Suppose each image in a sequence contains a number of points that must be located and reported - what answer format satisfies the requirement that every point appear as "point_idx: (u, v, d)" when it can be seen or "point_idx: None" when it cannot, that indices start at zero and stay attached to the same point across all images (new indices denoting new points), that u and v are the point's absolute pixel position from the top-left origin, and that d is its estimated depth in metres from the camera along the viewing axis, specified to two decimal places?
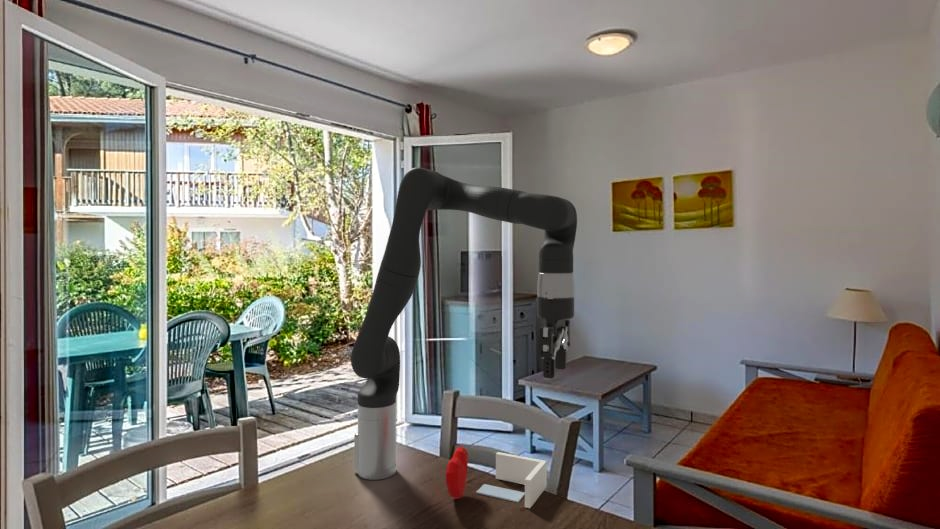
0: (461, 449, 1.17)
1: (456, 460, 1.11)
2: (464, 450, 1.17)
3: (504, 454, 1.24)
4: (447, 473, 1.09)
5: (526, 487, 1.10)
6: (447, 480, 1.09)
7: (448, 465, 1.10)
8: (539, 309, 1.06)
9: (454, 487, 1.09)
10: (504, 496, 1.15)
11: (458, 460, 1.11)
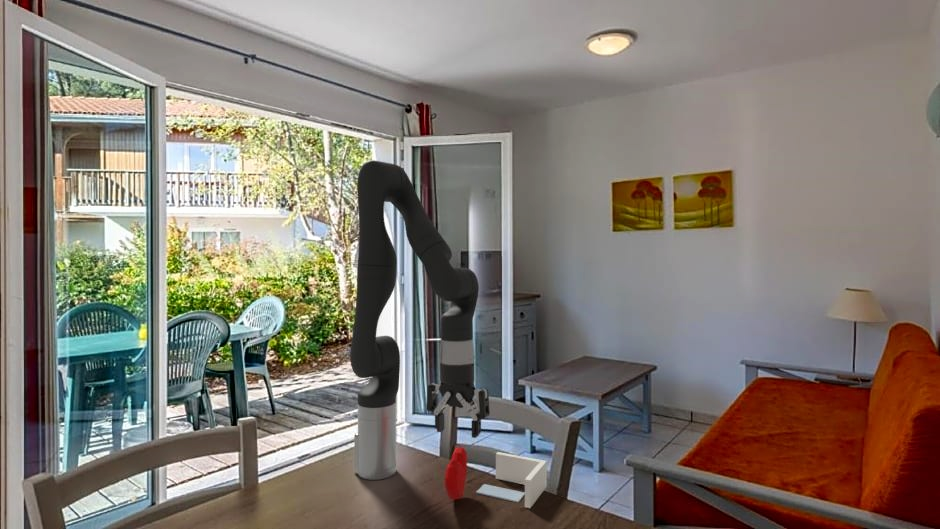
0: (460, 450, 1.16)
1: (455, 464, 1.10)
2: (463, 451, 1.16)
3: (504, 454, 1.24)
4: (446, 478, 1.08)
5: (526, 487, 1.10)
6: (446, 485, 1.08)
7: (447, 470, 1.09)
8: (462, 376, 1.10)
9: (454, 492, 1.08)
10: (504, 496, 1.15)
11: (457, 464, 1.10)
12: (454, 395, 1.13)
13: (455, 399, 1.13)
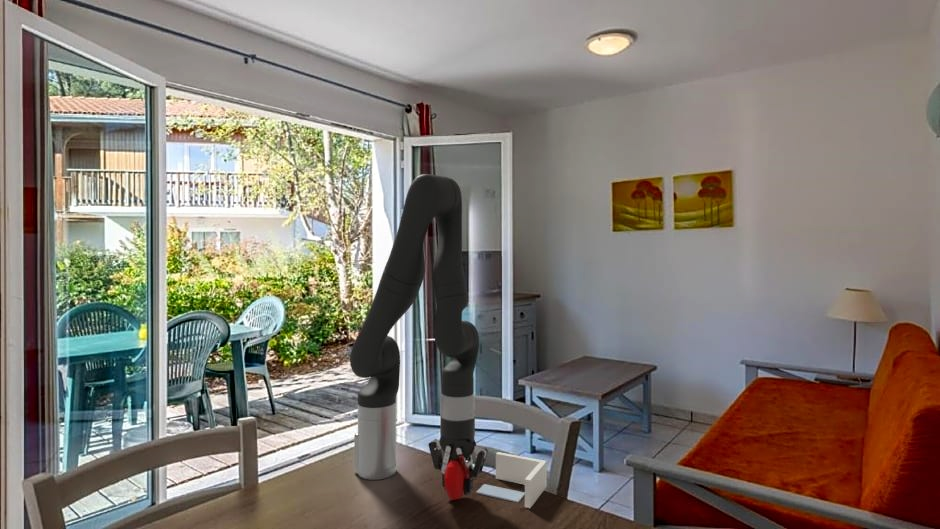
0: None
1: (454, 464, 1.10)
2: None
3: (504, 454, 1.24)
4: (445, 478, 1.08)
5: (526, 487, 1.10)
6: (446, 485, 1.08)
7: (446, 470, 1.09)
8: (463, 432, 1.10)
9: (453, 491, 1.08)
10: (504, 496, 1.15)
11: (456, 464, 1.10)
12: (454, 449, 1.13)
13: (455, 453, 1.13)
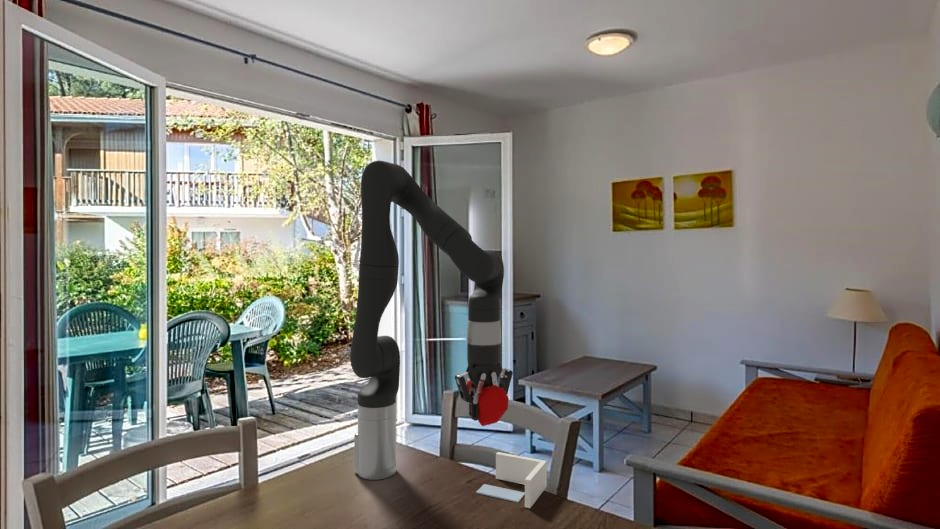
0: None
1: None
2: None
3: (504, 454, 1.24)
4: (502, 400, 1.10)
5: (526, 487, 1.10)
6: (502, 407, 1.10)
7: (499, 393, 1.10)
8: (500, 354, 1.14)
9: (505, 411, 1.11)
10: (504, 496, 1.15)
11: None
12: (486, 376, 1.14)
13: (486, 379, 1.14)
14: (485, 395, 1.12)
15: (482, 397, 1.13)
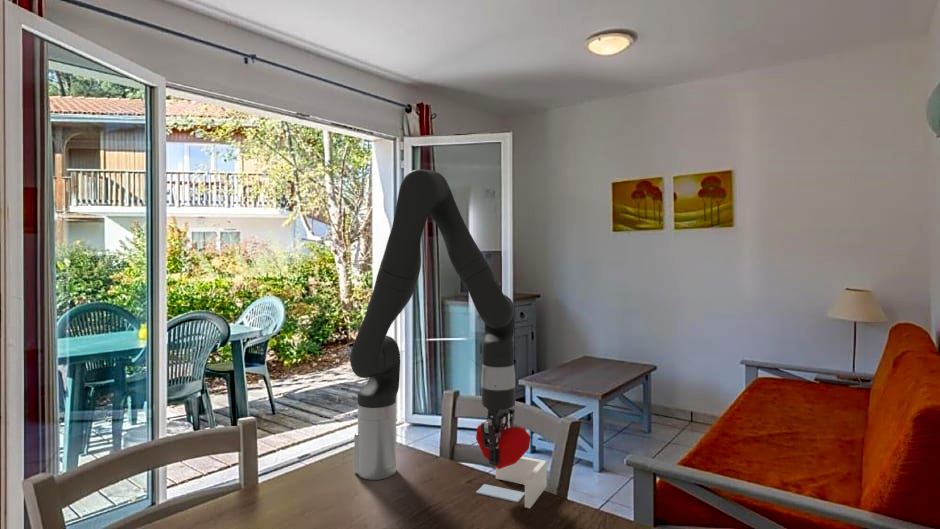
0: None
1: (517, 427, 1.16)
2: None
3: None
4: (528, 439, 1.14)
5: (526, 487, 1.10)
6: (527, 446, 1.14)
7: (523, 433, 1.14)
8: None
9: None
10: (504, 496, 1.15)
11: None
12: None
13: None
14: (508, 438, 1.14)
15: (504, 440, 1.14)
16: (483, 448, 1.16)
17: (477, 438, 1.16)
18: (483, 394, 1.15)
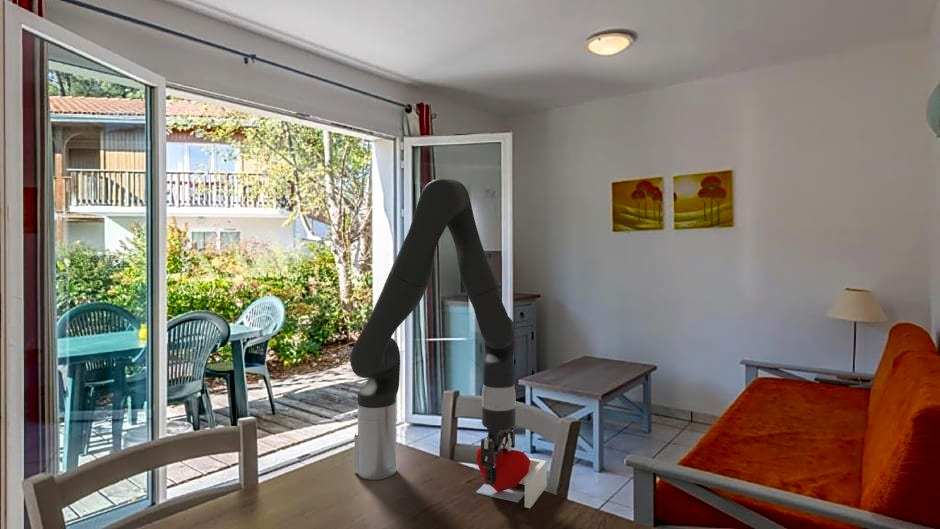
0: None
1: None
2: None
3: None
4: (528, 463, 1.15)
5: (526, 487, 1.10)
6: (527, 470, 1.15)
7: (523, 457, 1.15)
8: None
9: None
10: (504, 496, 1.15)
11: None
12: None
13: None
14: (507, 462, 1.15)
15: (504, 464, 1.15)
16: (483, 471, 1.17)
17: (477, 461, 1.17)
18: (483, 414, 1.15)
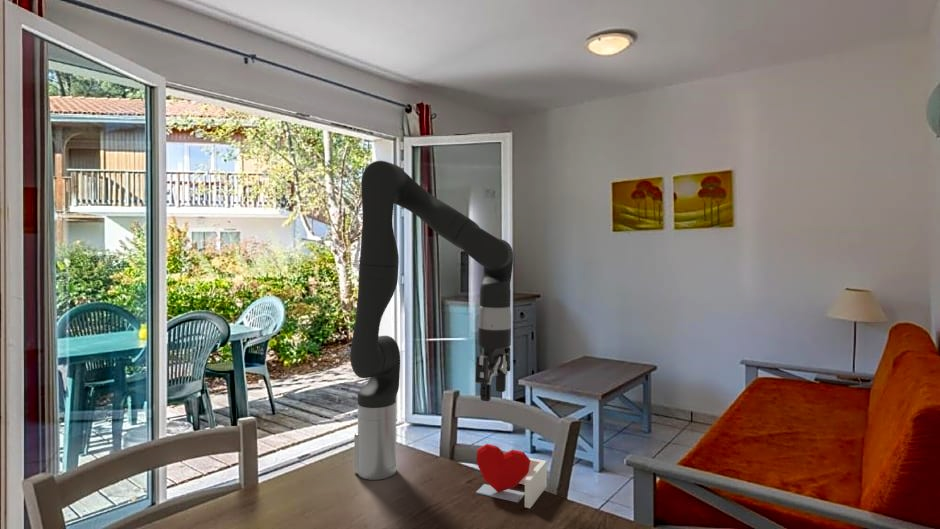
0: (492, 445, 1.18)
1: None
2: None
3: None
4: (528, 463, 1.15)
5: (526, 487, 1.10)
6: (527, 470, 1.15)
7: (523, 457, 1.15)
8: None
9: None
10: (504, 496, 1.15)
11: None
12: None
13: None
14: (507, 462, 1.15)
15: (504, 464, 1.15)
16: (483, 471, 1.17)
17: (477, 461, 1.17)
18: (480, 334, 1.18)
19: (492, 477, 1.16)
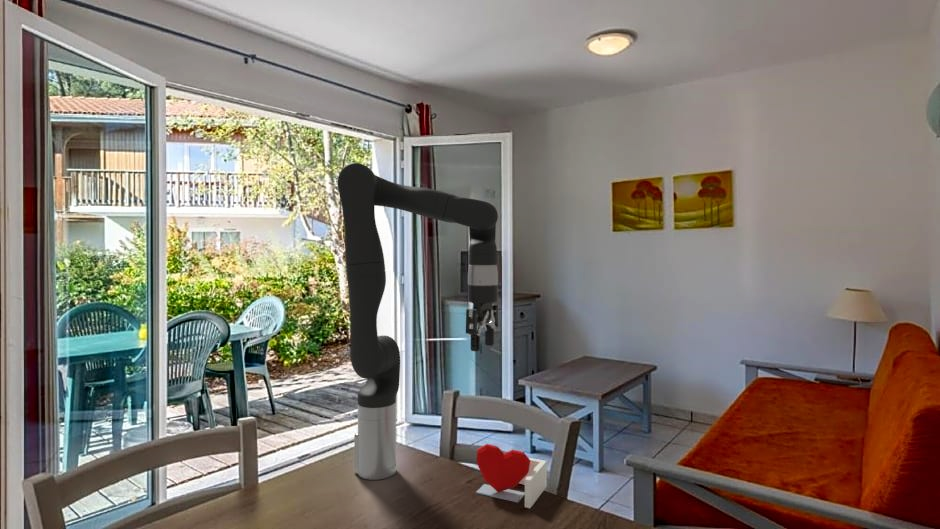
0: (492, 445, 1.18)
1: None
2: None
3: None
4: (528, 463, 1.15)
5: (526, 487, 1.10)
6: (527, 470, 1.15)
7: (523, 457, 1.15)
8: None
9: None
10: (504, 496, 1.15)
11: None
12: None
13: None
14: (507, 462, 1.15)
15: (504, 464, 1.15)
16: (483, 471, 1.17)
17: (477, 461, 1.17)
18: (469, 290, 1.28)
19: (492, 477, 1.16)
